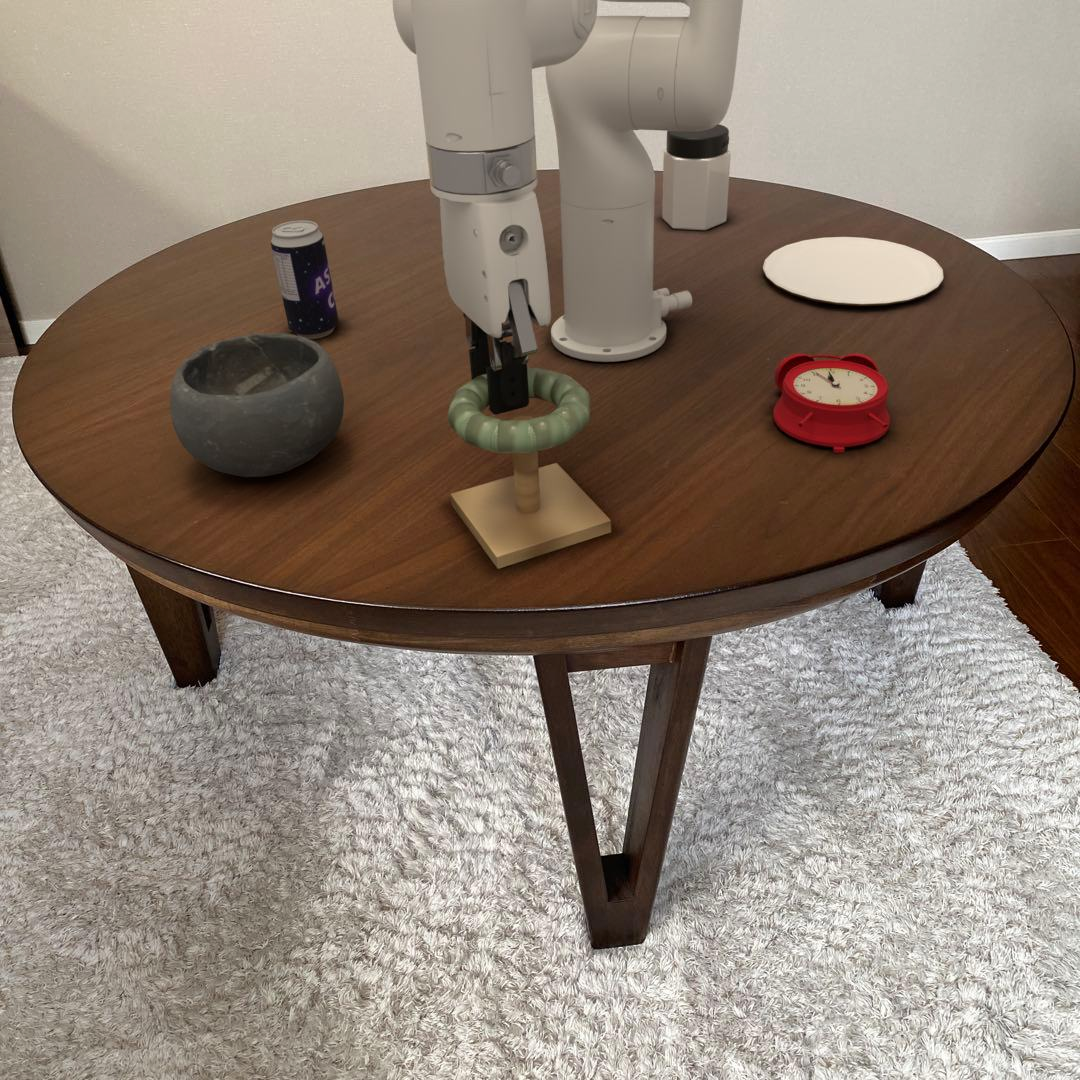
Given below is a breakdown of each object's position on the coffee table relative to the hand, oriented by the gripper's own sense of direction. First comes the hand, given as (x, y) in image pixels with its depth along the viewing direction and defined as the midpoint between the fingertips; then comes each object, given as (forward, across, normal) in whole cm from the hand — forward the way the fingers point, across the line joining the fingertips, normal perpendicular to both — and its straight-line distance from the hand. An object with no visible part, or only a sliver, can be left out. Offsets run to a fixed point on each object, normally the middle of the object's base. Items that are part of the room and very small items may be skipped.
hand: (500, 398), depth 80 cm
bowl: (+9, +16, +17) cm, 25 cm away
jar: (+9, +50, -50) cm, 71 cm away
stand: (+9, -4, 0) cm, 10 cm away
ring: (-1, -4, 0) cm, 4 cm away
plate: (+9, +23, -55) cm, 60 cm away
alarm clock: (+9, -2, -32) cm, 34 cm away
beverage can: (+9, +42, +6) cm, 43 cm away
